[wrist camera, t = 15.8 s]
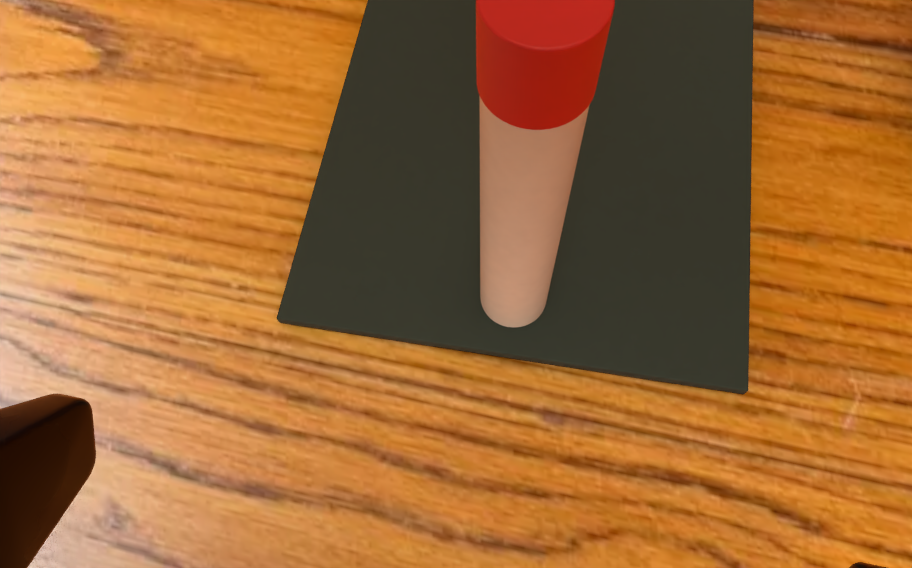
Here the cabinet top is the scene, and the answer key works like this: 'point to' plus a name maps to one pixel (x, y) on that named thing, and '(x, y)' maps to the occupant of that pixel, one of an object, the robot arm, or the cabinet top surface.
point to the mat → (588, 211)
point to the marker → (530, 139)
